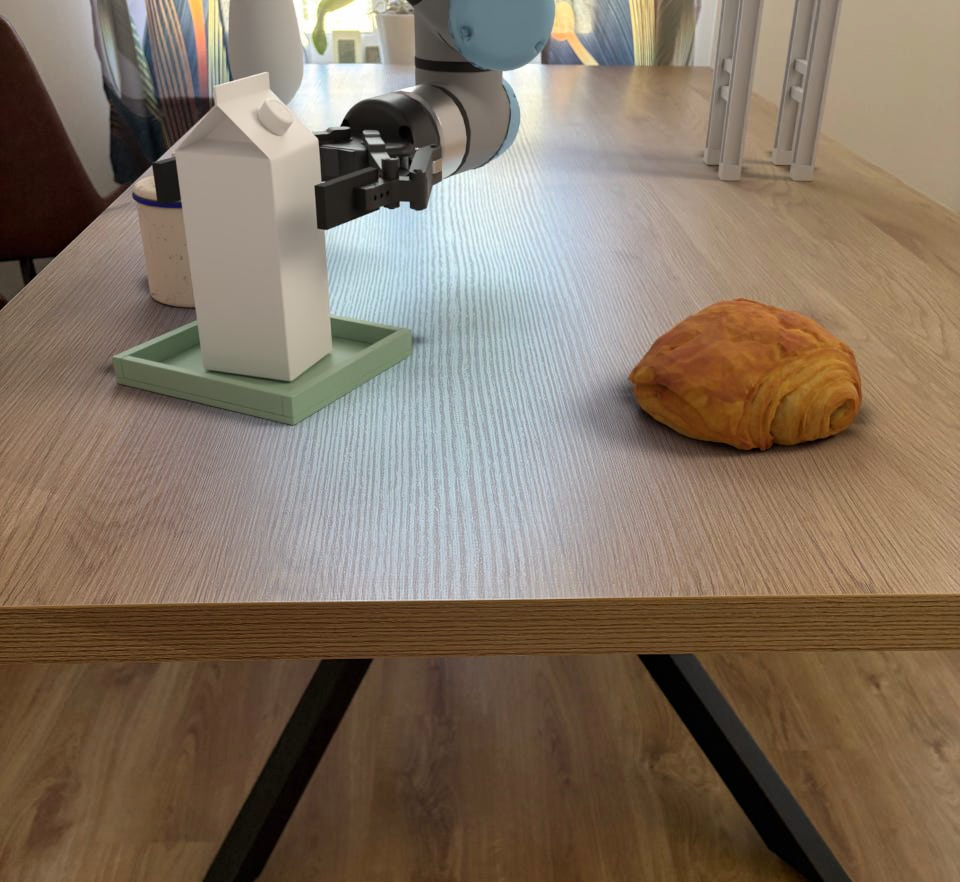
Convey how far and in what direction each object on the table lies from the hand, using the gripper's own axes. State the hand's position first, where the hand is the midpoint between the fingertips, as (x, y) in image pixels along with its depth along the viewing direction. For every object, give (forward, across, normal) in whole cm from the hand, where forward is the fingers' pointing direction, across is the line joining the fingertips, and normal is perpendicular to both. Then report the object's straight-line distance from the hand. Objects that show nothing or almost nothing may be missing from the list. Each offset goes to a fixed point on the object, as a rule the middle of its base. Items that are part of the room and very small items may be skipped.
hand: (236, 195), depth 75 cm
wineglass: (-42, +29, -13) cm, 53 cm away
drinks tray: (-2, 0, -13) cm, 13 cm away
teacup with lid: (-15, +17, -13) cm, 26 cm away
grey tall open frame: (-89, -12, -13) cm, 90 cm away
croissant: (-11, -33, -13) cm, 37 cm away
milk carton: (-2, 0, -12) cm, 12 cm away
